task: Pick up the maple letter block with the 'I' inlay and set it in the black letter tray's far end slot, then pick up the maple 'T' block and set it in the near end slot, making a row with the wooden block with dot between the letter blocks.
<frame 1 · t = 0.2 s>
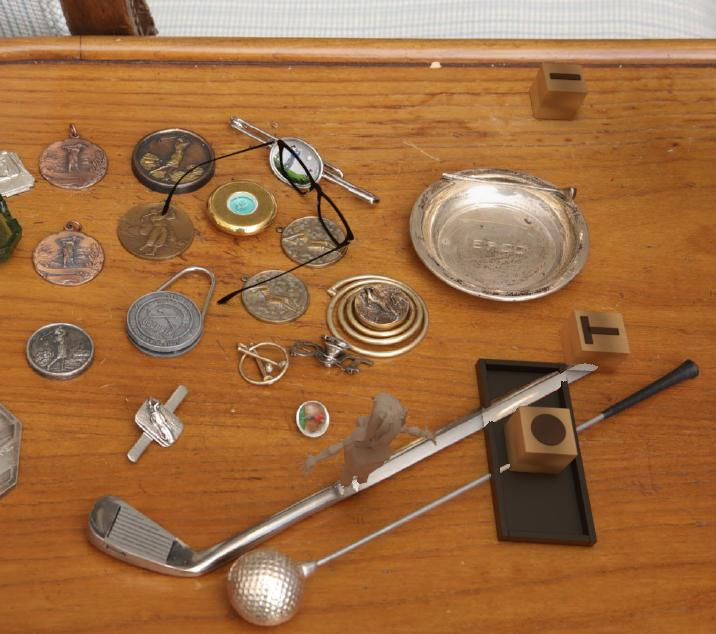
wooden block with dot: (530, 450, 85), point 1 cm above the table, touching letter tray
human figurine: (347, 493, 84), on the table
letter I: (550, 105, 109), on the table
letter T: (583, 354, 91), on the table
letter tray: (528, 452, 86), on the table
eyeglasses: (252, 232, 99), on the table
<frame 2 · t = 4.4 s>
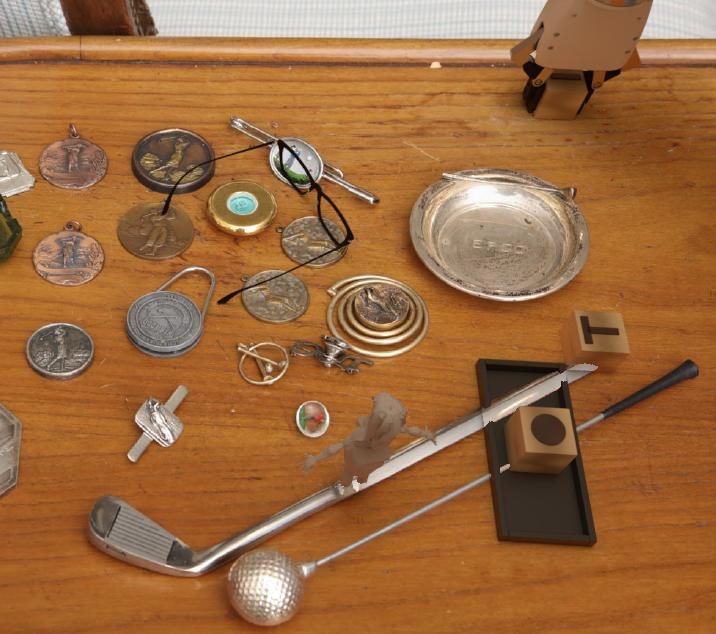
hand: (551, 103, 108), 0 cm above the table, tool pointing down, fingers closed on letter I, 4 cm apart
letter I: (550, 105, 109), on the table, touching gripper
everything else where it was.
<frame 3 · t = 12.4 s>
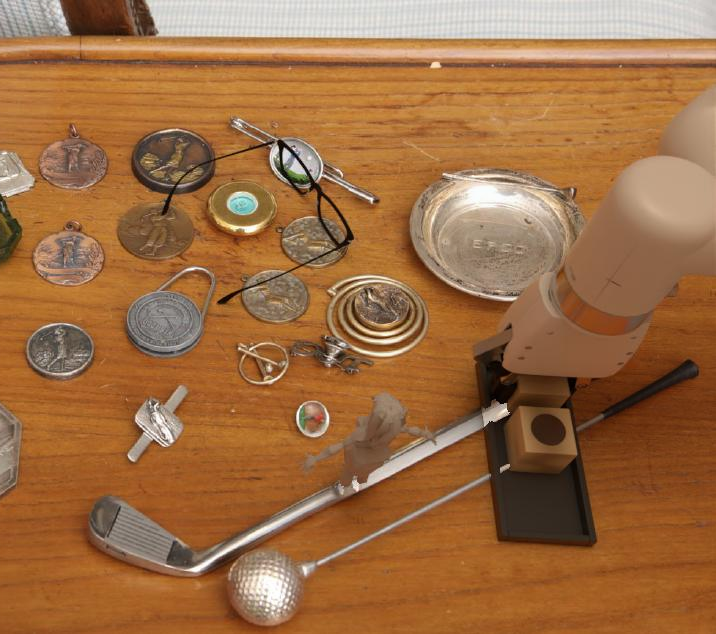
hand: (526, 392, 87), 1 cm above the table, tool pointing down, fingers closed on letter I, 4 cm apart
letter I: (525, 394, 87), point 1 cm above the table, touching gripper
everything else where it was.
when the fingers open (2 cm above the table, at t = 17.6 s): letter I drops 1 cm, resting on letter tray.
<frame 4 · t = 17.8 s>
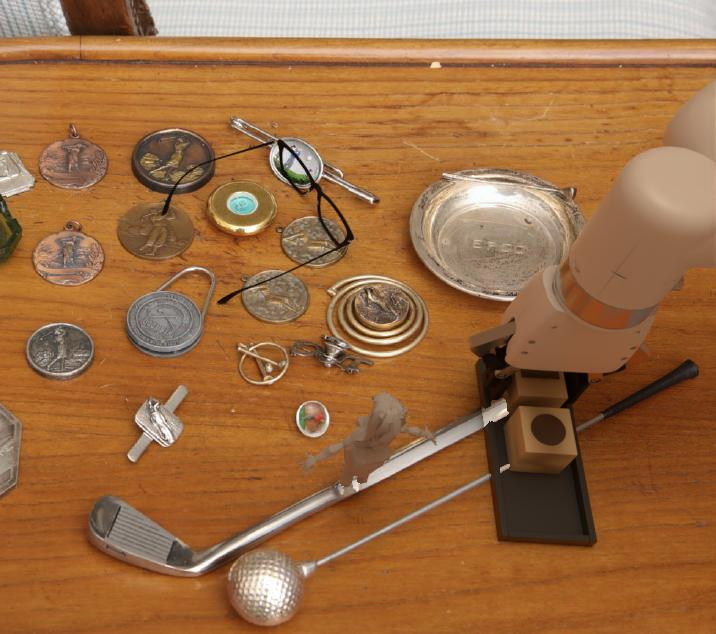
hand: (529, 387, 86), 3 cm above the table, tool pointing down, fingers open, 6 cm apart
letter I: (523, 396, 88), point 1 cm above the table, touching letter tray
everything else where it was.
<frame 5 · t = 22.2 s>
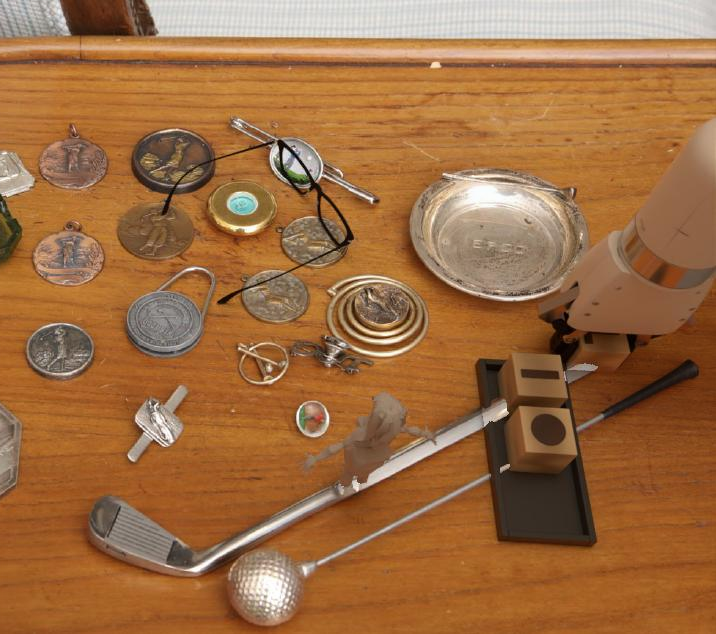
hand: (584, 352, 91), 0 cm above the table, tool pointing down, fingers closed on letter T, 4 cm apart
letter T: (583, 354, 91), on the table, touching gripper
everything else where it was.
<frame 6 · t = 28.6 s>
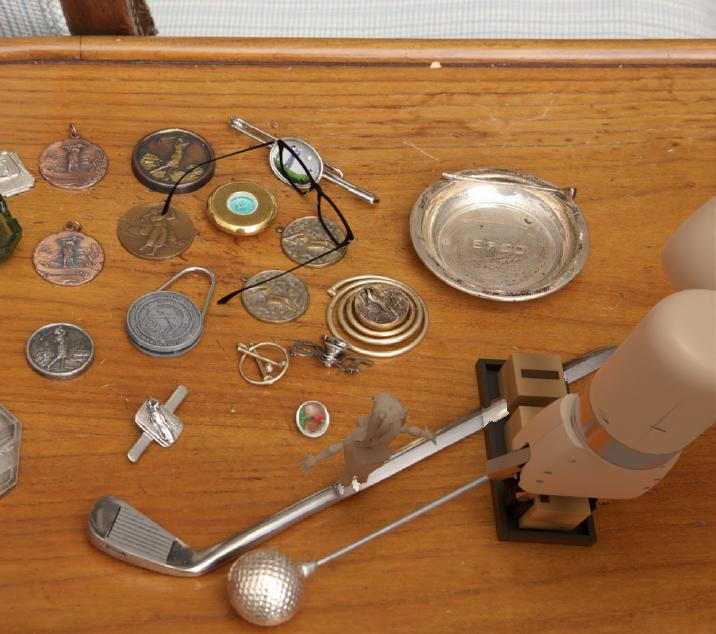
hand: (542, 503, 82), 1 cm above the table, tool pointing down, fingers closed on letter T, 4 cm apart
letter T: (541, 505, 82), point 1 cm above the table, touching gripper
everything else where it was.
when the fingers open (2 cm above the table, at t = 33.9 s): letter T drops 1 cm, resting on letter tray.
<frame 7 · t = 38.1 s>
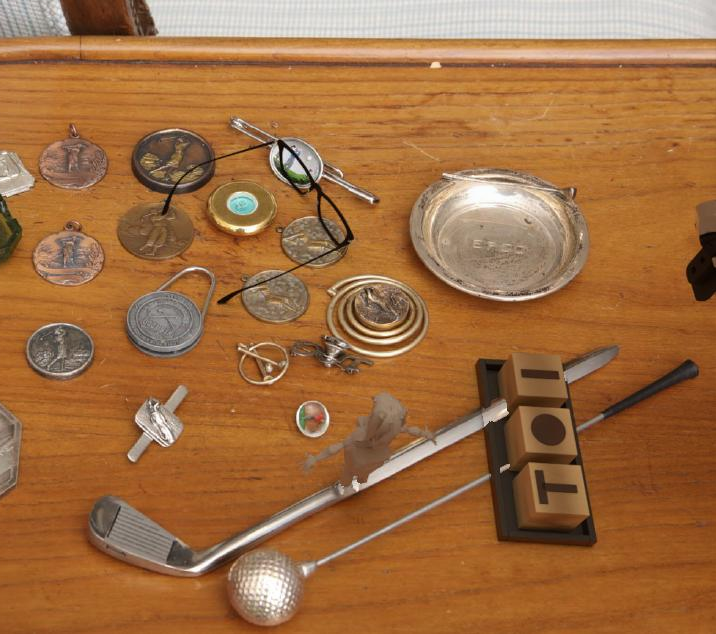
letter T: (540, 506, 82), point 1 cm above the table, touching letter tray
everything else where it was.
at the end: letter I 0.1 cm from the target spot in the letter tray, point 0.6 cm above the letter tray's base; letter T 0.1 cm from the target spot in the letter tray, point 0.6 cm above the letter tray's base; wooden block with dot moved 0.0 cm from its start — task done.
